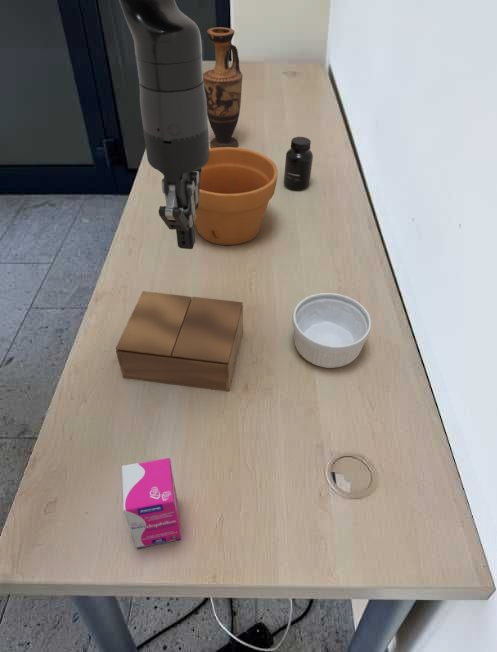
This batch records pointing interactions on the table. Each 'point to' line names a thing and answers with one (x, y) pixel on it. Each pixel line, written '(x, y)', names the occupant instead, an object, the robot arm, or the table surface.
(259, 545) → the table surface
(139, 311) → the flap
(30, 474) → the table surface
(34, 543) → the table surface
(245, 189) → the flower pot
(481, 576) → the table surface
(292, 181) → the supplement bottle
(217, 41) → the vase
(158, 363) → the carton
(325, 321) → the ramekin
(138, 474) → the supplement box
